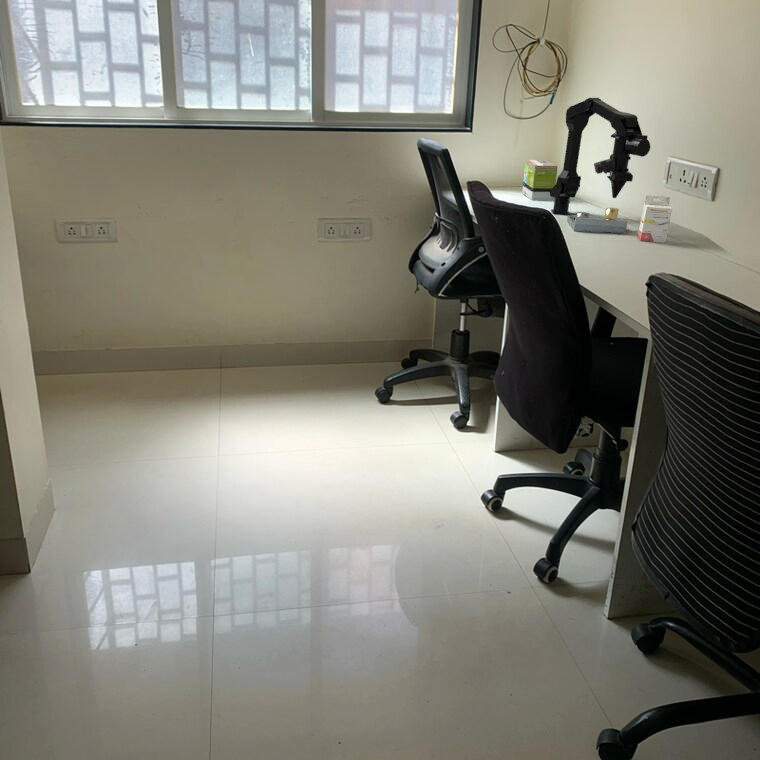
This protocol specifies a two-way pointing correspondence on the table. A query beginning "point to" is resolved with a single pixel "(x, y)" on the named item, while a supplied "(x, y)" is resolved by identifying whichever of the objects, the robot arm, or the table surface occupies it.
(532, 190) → the tea box
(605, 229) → the jig plate
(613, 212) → the cylinder
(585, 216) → the steel bushing
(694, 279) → the table surface
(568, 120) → the robot arm
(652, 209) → the ink cartridge box
